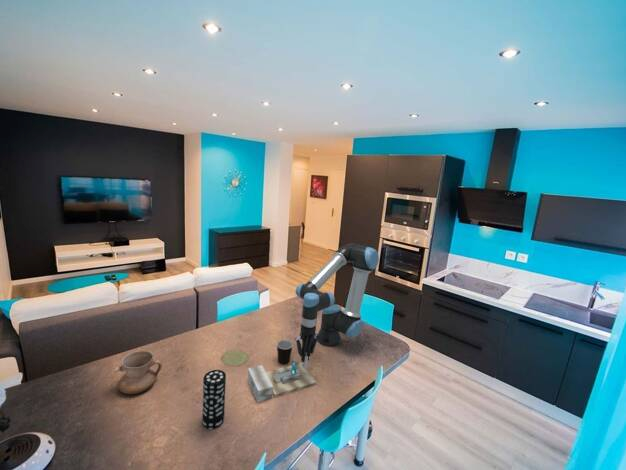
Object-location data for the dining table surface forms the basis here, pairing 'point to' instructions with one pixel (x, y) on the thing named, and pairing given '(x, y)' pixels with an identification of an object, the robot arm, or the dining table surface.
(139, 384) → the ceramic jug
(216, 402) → the white-spotted black cylinder
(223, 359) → the sand dollar
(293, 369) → the bolt
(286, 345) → the coffee mug
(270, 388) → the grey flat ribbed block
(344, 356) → the dining table surface
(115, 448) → the dining table surface
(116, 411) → the dining table surface
